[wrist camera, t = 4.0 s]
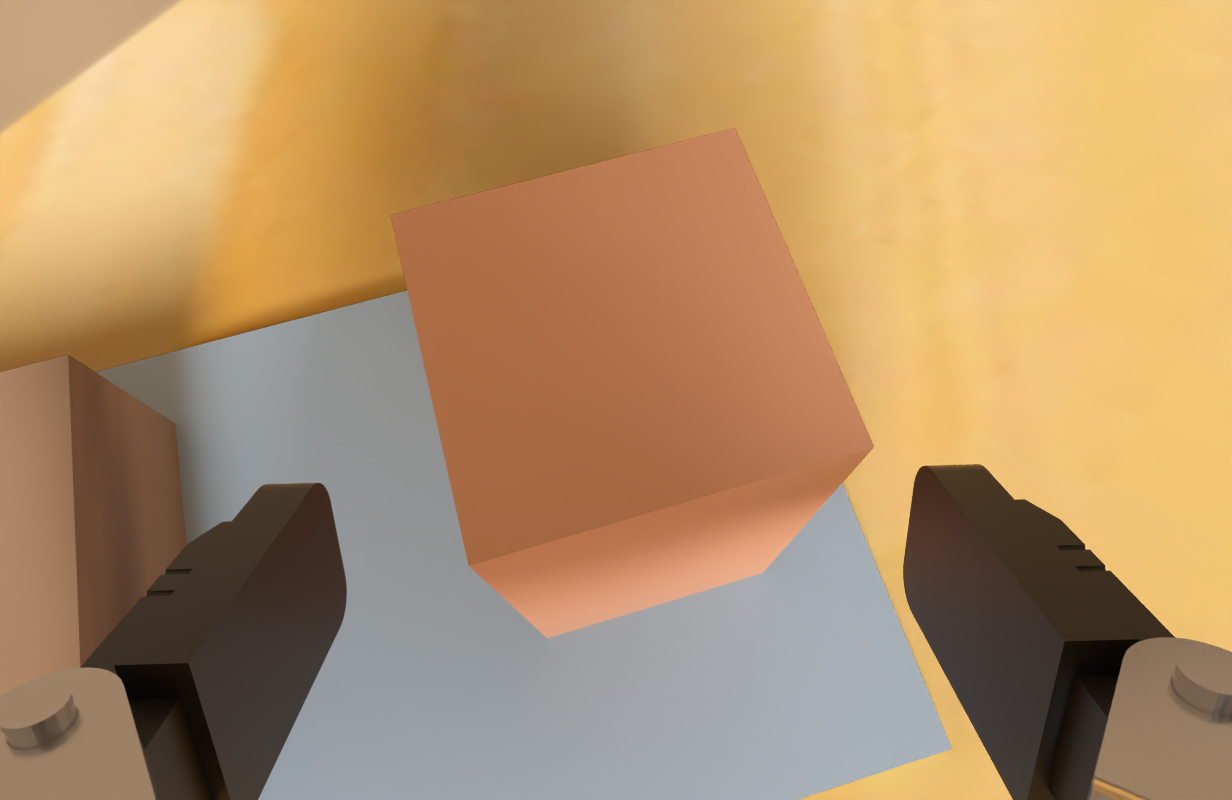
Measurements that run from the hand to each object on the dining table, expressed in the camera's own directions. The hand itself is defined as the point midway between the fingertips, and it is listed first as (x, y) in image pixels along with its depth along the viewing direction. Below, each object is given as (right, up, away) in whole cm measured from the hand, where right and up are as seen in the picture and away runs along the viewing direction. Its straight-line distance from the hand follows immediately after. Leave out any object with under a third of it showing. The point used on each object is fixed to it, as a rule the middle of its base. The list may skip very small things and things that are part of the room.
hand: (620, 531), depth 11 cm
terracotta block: (0, -1, +8) cm, 8 cm away
